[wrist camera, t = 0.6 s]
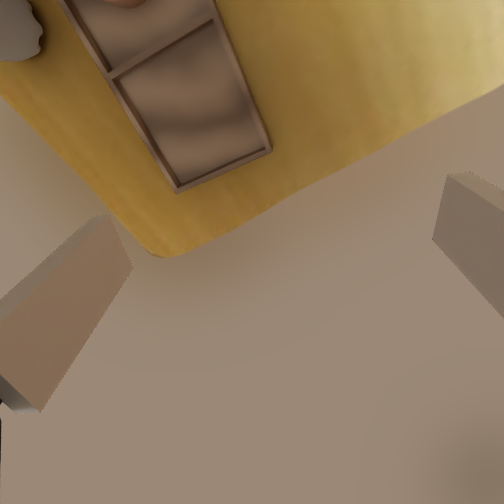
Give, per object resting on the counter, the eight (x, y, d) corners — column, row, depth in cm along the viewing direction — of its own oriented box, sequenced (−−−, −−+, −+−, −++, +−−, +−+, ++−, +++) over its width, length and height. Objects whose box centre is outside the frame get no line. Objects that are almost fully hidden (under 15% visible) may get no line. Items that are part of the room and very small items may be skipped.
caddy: (16, -88, 25) (-6, -102, 23) (137, -197, 22) (123, -224, 20) (181, 187, 39) (175, 194, 37) (272, 146, 35) (272, 151, 33)
